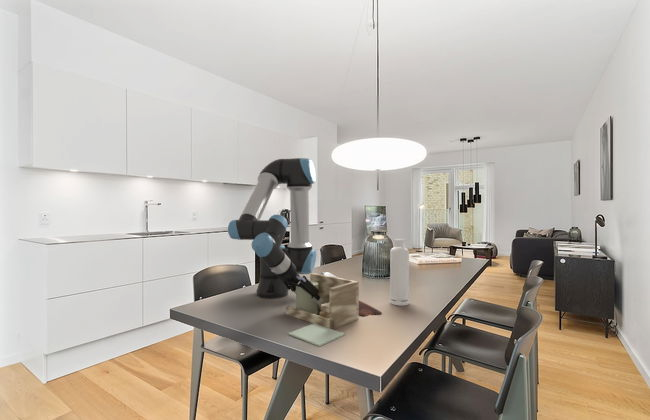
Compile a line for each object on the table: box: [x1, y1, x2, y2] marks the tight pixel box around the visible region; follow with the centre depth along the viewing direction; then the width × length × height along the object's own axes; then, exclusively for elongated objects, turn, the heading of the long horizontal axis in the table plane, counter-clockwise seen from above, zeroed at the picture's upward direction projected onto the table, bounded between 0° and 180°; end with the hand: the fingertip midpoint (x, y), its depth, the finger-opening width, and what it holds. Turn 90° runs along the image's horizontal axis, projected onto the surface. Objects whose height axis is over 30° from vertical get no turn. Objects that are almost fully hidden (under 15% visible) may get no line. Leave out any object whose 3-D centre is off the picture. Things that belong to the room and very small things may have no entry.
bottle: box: [389, 238, 410, 307], centre depth 143 cm, size 8×8×28 cm
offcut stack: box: [319, 302, 330, 318], centre depth 120 cm, size 7×10×6 cm
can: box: [295, 280, 319, 315], centre depth 130 cm, size 9×9×12 cm
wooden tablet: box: [359, 300, 383, 318], centre depth 139 cm, size 26×2×10 cm
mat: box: [288, 323, 345, 347], centre depth 107 cm, size 14×12×1 cm
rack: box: [285, 272, 360, 330], centre depth 125 cm, size 24×15×14 cm, turn 48°
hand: (312, 300), depth 133 cm, fingers closed on can, 9 cm apart
